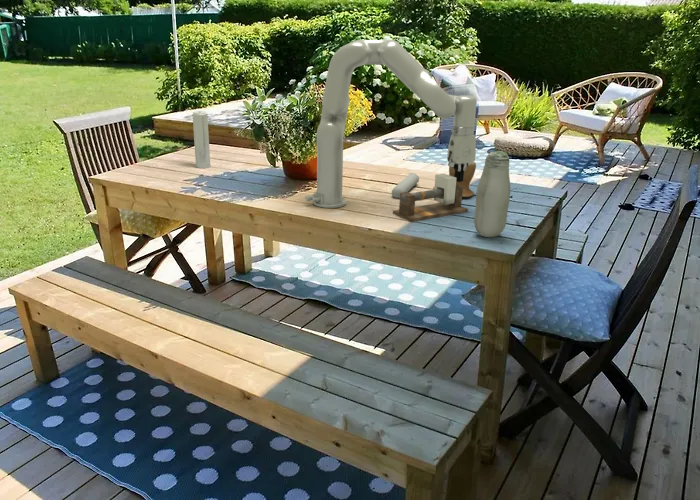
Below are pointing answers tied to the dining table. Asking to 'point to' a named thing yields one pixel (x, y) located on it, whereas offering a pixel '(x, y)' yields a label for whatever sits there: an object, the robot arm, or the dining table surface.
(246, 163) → the dining table surface
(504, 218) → the glass bottle
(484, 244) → the dining table surface
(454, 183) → the cream upright slab
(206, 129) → the grey upright post
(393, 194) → the tube
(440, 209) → the pipe stand
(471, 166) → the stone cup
